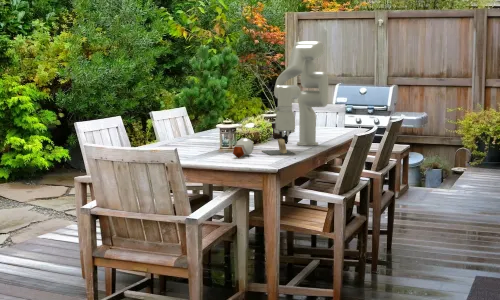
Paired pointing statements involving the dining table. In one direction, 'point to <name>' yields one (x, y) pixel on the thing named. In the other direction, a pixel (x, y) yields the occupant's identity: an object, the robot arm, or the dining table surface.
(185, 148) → the dining table surface
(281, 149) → the oak slab
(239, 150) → the potion bottle
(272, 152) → the mat
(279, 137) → the coffee mug
